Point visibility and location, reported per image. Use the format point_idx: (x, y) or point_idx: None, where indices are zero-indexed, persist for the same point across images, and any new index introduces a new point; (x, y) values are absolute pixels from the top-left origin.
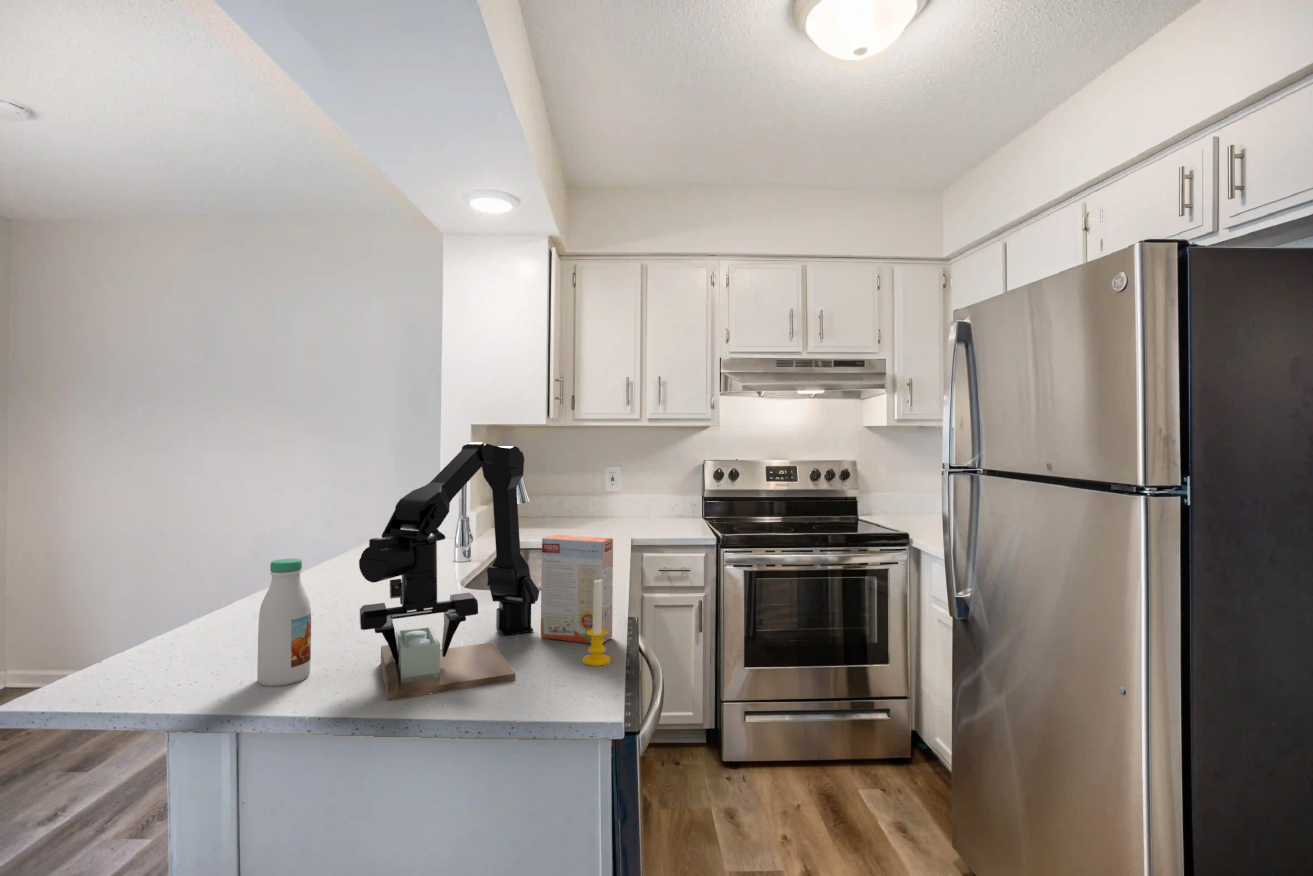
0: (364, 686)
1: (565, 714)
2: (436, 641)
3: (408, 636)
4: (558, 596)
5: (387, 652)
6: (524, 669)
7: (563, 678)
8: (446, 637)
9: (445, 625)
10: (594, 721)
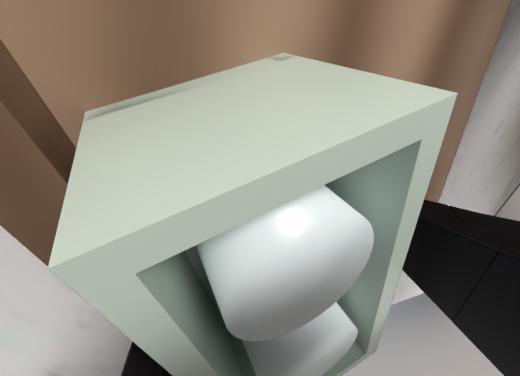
0: (46, 298)
1: (410, 289)
2: (374, 340)
3: (259, 338)
4: None
5: (27, 192)
6: (459, 147)
7: (472, 192)
8: (419, 286)
9: (489, 297)
10: (420, 294)
